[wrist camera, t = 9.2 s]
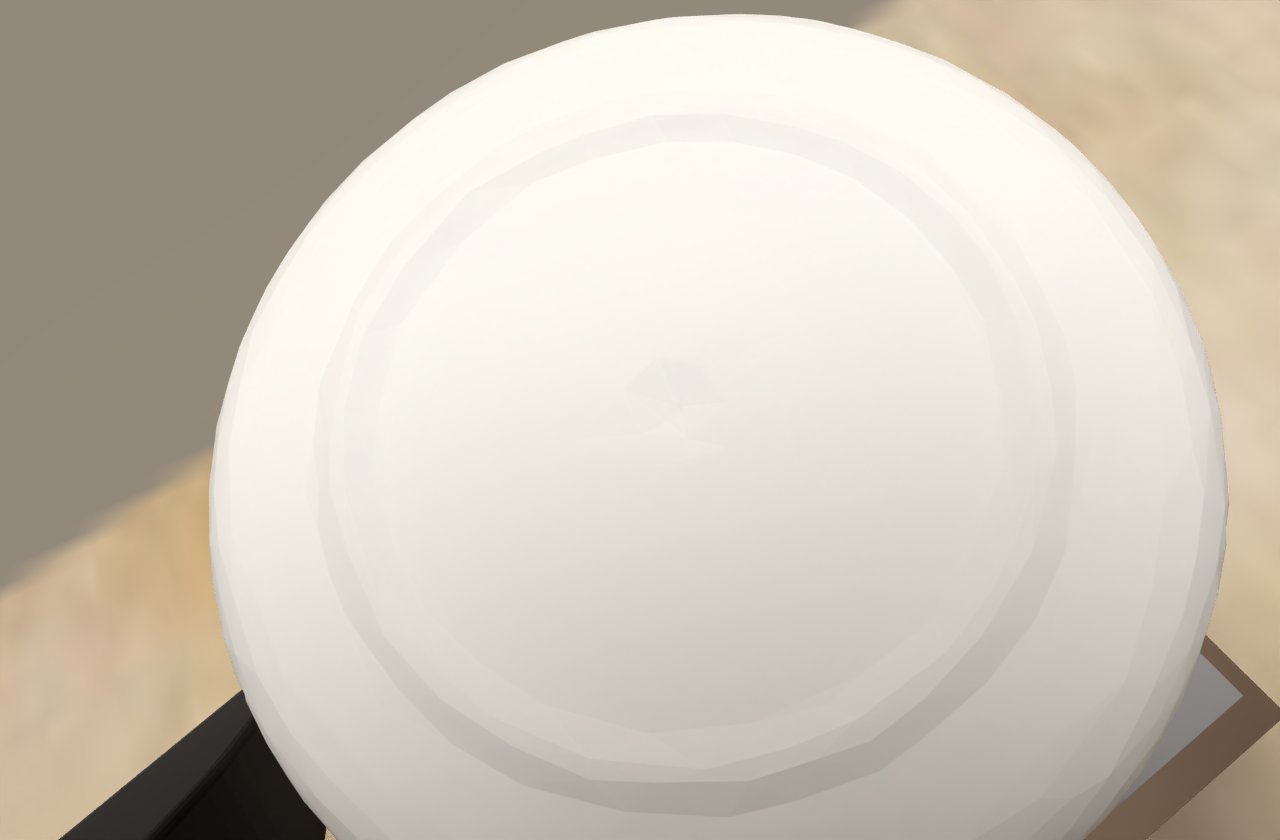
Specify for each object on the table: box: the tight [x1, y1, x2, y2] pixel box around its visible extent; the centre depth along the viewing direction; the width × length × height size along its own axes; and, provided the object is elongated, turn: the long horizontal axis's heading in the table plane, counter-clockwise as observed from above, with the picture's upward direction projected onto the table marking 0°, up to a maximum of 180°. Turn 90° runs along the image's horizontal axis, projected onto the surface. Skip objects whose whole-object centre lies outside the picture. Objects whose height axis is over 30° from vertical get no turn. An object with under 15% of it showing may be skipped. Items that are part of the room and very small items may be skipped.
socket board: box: [1084, 635, 1280, 840], centre depth 16 cm, size 11×11×3 cm
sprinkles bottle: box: [209, 14, 1229, 840], centre depth 10 cm, size 5×5×13 cm
